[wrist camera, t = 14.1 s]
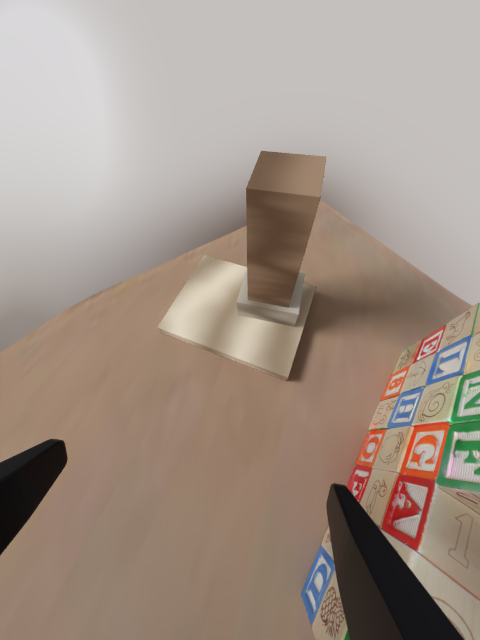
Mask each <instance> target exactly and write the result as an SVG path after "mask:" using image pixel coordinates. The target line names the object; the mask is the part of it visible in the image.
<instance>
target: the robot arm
mask: <svg viewBox="0 0 480 640" xmlns="http://www.w3.org/2000/svg"><path fill="white" fill-rule="evenodd" d="M66 463H67V453H66V447H65V443H64V441H63V440H58V439H49V440H47V441H45V442H43V443H41V444H39V445H36V446H34V447H32V448H30V449H28V450H26V451H24V452H22V453H20V454H17V455H15V456H13V457H11V458H9V459H7V460H5V461H3V462H1V463H0V555H1V554H2V553H3V551H4V550H5V549H6V548H7V546H8V545H9V544H10V542H11V541H12V540H13V539H14V537H15V536H16V535H17V534H18V532H19V531H20V530H21V528H22V527H23V526H24V525H25V523H26V522H27V521H28V519H29V518H30V517H31V515H32V514H33V512H34V511H35V510H36V508H37V507H38V505H39V504H40V502H41V501H42V499H43V498H44V496H45V495H46V494H47V492H48V491H49V489H50V488H51V486H52V485H53V483H54V482H55V480H56V479H57V477H58V476H59V474H60V473H61V472H62V470H63V469H64V467H65V465H66ZM327 516H328V523H329V530H330V537H331V544H332V552H333V559H334V566H335V572H336V578H337V583H338V588H339V593H340V597H341V602H342V606H343V611H344V615H345V620H346V624H347V629H348V633H349V637H350V640H465V639H464V638H463V637H462V635H461V634H460V633H459V632H458V630H457V629H456V628H455V626H454V625H453V624H452V622H451V621H450V620H449V619H448V617H447V616H446V615H445V613H444V612H443V611H442V609H441V608H440V607H439V606H438V604H437V603H436V602H435V600H434V599H433V598H432V597H431V595H430V594H429V593H428V591H427V590H426V589H425V587H424V586H423V585H422V584H421V582H420V581H419V580H418V578H417V577H416V576H415V574H414V573H413V572H412V571H411V569H410V568H409V567H408V565H407V564H406V563H405V561H404V560H403V559H402V558H401V556H400V555H399V554H398V552H397V551H396V550H395V548H394V547H393V546H392V545H391V543H390V542H389V541H388V539H387V538H386V537H385V535H384V534H383V533H382V532H381V530H380V529H379V528H378V526H377V525H376V524H375V523H374V521H373V520H372V519H371V517H370V516H369V515H368V513H367V512H366V511H365V510H364V508H363V507H362V506H361V504H360V503H359V502H358V500H357V499H356V498H355V497H354V495H353V494H352V493H351V491H350V490H349V489H348V488H347V487H346V486H345V485H341V484H335V483H333V484H332V485H331V487H330V491H329V495H328V499H327Z"/></svg>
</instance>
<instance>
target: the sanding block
mask: <svg viewBox="0 0 480 640" xmlns="http://www.w3.org/2000/svg"><path fill="white" fill-rule="evenodd" d="M325 163H326V157H323V156H311V155H301V154H289V153H278V152H267V151H261V153H260V155H259V158H258V160H257V163H256V165H255V168H254V170H253V173H252V175H251V178H250V180H249V183H248V185H247V188H246V195H247V196H246V201H247V270H246V273H245V276H244V279H243V283H242V286H241V289H240V292H239V296H238V299H237V302H236V303H237V314H238V315H239V316H244V317H249V318H254V319H259V320H264V321H269V322H274V323H279V324H284V325H289V326H294V325H295V323H296V320H297V318H298V315H299V309H300V303H301V296H302V290H303V283H304V276H305V273H299V271H300V267H301V264H302V260H303V257H304V253H305V250H306V246H307V243H308V239H309V236H310V233H311V229H312V226H313V222H314V219H315V215H316V212H317V208H318V205H319V201H320V198H321V192H322V184H323V177H324V169H325Z"/></svg>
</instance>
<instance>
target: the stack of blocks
mask: <svg viewBox="0 0 480 640" xmlns="http://www.w3.org/2000/svg"><path fill="white" fill-rule="evenodd" d="M368 430H369V433H368V435H367V437H366V440H365V442H364V445H363V447H362V449H361V452H360V454H359V457H358V459H357V461H356V467H355V468H354V471H353V473H352V475H351V477H350V480H349V482H348V485H347V488H348V489H349V490H350V491H351V493H352V494H353V495H354V497H355V498H356V499H357V500H358V502H359V503H360V504H361V506H362V507H363V508H364V510H365V511H366V512H367V513H368V515H369V516H370V517H371V519H372V520H373V521H374V523H375V524H376V525H377V526H378V528H379V529H380V530H381V532H382V533H383V534H384V535H385V537H386V538H387V539H388V541H389V542H390V543H391V545H392V546H393V547H394V548H395V550H396V551H397V552H398V554H399V555H400V556H401V558H402V559H403V560H404V561H405V563H406V564H407V565H408V567H409V568H410V569H411V571H412V572H413V573H414V574H415V576H416V577H417V578H418V580H419V581H420V582H421V584H422V585H423V586H424V587H425V589H426V590H427V591H428V593H429V594H430V595H431V597H432V598H433V599H434V600H435V602H436V603H437V604H438V606H439V607H440V608H441V609H442V611H443V612H444V613H445V615H446V616H447V617H448V619H449V620H450V621H451V622H452V624H453V625H454V626H455V628H456V629H457V630H458V632H459V633H460V634H461V635H462V637H463V638H464V639H465V640H480V303H478V304H476V305H474V306H473V307H472V308H470V309H468V310H466V311H465V312H463V313H462V314H460V315H459V316H457V317H455V318H454V319H452V320H451V321H449V322H448V324H447V325H445V326H443V327H442V328H440V329H438V330H437V331H435V332H434V333H432V334H431V335H429V336H427V337H426V338H424V339H423V340H419V341H418V342H416V343H415V344H413V345H412V346H410V347H409V348H407V349H406V350H404V351H403V352H402V354H401V356H400V359H399V361H398V363H397V365H396V368H395V370H394V372H393V374H392V375H391V377H390V379H389V382H388V384H387V386H386V389H385V391H384V393H383V396H382V398H381V401H380V403H379V405H378V407H377V409H376V412H375V414H374V416H373V419H372V421H371V424H370V426H369V429H368ZM301 596H302V599H303V602H304V605H305V608H306V611H307V614H308V617H309V620H310V623H311V626H312V627H313V633H314V636H315V639H316V640H350V637H349V633H348V629H347V624H346V620H345V615H344V611H343V606H342V602H341V597H340V593H339V588H338V583H337V578H336V572H335V566H334V559H333V552H332V544H331V537H330V530H329V526H328V529H327V531H326V533H325V536H324V538H323V541H322V545H321V547H320V549H319V551H318V554H317V556H316V558H315V561H314V563H313V566H312V568H311V571H310V573H309V575H308V578H307V580H306V583H305V585H304V587H303V590H302V594H301Z"/></svg>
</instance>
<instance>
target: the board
mask: <svg viewBox="0 0 480 640" xmlns="http://www.w3.org/2000/svg"><path fill="white" fill-rule="evenodd" d="M246 270H247V267H244V266H240V265H237V264H234V263H230V262H227V261H223V260H220V259H216V258H213V257H209V256H206V255H204V256H203V258H202V259H201V261H200V262H199V264H198V265H197V267H196V269H195V270H194V272H193V273H192V275H191V276H190V278H189V279H188V281H187V282H186V284H185V285H184V287H183V289H182V290H181V292H180V293H179V295H178V296H177V298H176V299H175V301H174V302H173V304H172V306H171V307H170V309H169V310H168V312H167V313H166V315H165V316H164V318H163V319H162V321H161V323H160V324H159V326H158V327H157V328H158V329H159V330H160V332H161V333H164V334H166V335H169V336H172V337H174V338H177V339H179V340H182V341H184V342H187V343H190V344H192V345H195V346H197V347H200V348H202V349H205V350H208V351H210V352H213V353H215V354H218V355H221V356H223V357H226V358H228V359H231V360H233V361H236V362H239V363H241V364H244V365H246V366H249V367H251V368H254V369H257V370H259V371H262V372H264V373H267V374H269V375H272V376H275V377H277V378H280V379H282V380H285V381H286V380H287V379H288V376H289V373H290V370H291V367H292V363H293V360H294V357H295V354H296V351H297V347H298V344H299V341H300V338H301V335H302V331H303V328H304V325H305V322H306V319H307V315H308V312H309V309H310V306H311V303H312V299H313V296H314V293H315V290H316V287H313V286H310V285H306V284H303V290H302V296H301V303H300V309H299V315H298V318H297V320H296V323H295V325H294V326H289V325H284V324H279V323H274V322H269V321H264V320H259V319H254V318H249V317H244V316H239V315H238V314H237V303H236V302H237V299H238V296H239V292H240V289H241V286H242V283H243V279H244V276H245V273H246Z"/></svg>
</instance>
